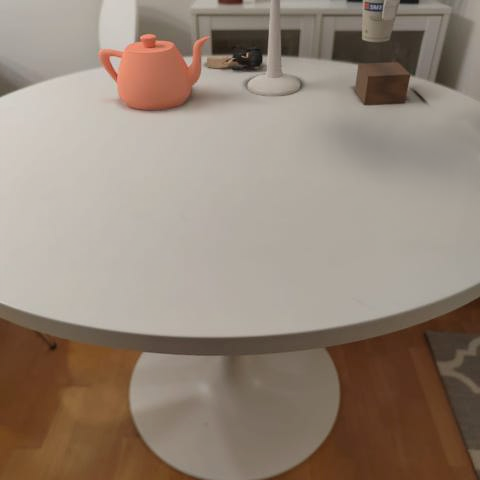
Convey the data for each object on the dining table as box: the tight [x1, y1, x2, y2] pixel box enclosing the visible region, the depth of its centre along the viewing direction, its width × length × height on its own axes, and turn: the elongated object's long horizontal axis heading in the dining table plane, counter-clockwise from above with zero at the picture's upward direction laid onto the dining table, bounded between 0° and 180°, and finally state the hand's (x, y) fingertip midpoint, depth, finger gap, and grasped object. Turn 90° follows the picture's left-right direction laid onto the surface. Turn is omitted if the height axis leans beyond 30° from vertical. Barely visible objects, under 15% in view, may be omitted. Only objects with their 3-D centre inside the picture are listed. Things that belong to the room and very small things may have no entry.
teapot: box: [98, 33, 211, 111], centre depth 102 cm, size 25×17×13 cm
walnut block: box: [354, 61, 412, 106], centre depth 102 cm, size 9×9×6 cm
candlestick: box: [247, 0, 301, 97], centre depth 101 cm, size 13×13×30 cm
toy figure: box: [206, 43, 264, 72], centre depth 121 cm, size 7×6×15 cm
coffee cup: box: [361, 0, 401, 43], centre depth 74 cm, size 7×7×10 cm
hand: (379, 13), depth 75 cm, fingers closed on coffee cup, 7 cm apart
